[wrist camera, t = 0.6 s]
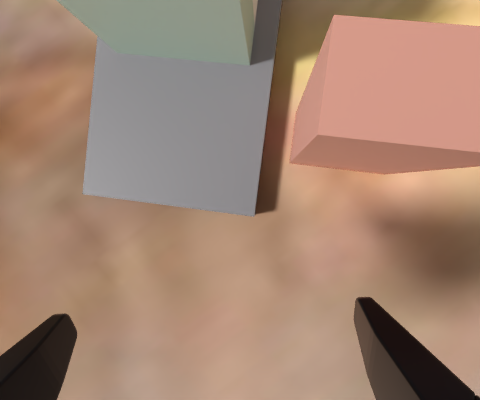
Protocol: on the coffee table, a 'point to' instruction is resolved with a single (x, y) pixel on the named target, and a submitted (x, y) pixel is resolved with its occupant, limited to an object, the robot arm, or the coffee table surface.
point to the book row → (172, 27)
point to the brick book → (391, 98)
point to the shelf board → (182, 125)
